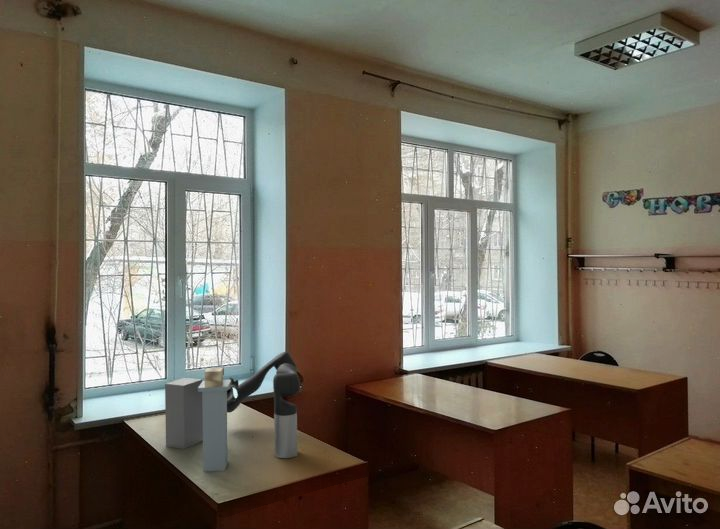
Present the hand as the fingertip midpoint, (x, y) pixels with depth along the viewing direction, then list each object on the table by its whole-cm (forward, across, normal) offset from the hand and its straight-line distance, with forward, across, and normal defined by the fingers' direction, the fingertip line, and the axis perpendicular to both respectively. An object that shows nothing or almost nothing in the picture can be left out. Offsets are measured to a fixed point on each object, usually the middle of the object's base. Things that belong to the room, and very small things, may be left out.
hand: (220, 380), depth 224 cm
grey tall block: (-22, +16, -21) cm, 35 cm away
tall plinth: (+2, -1, -35) cm, 35 cm away
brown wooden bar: (+13, 0, -4) cm, 13 cm away
